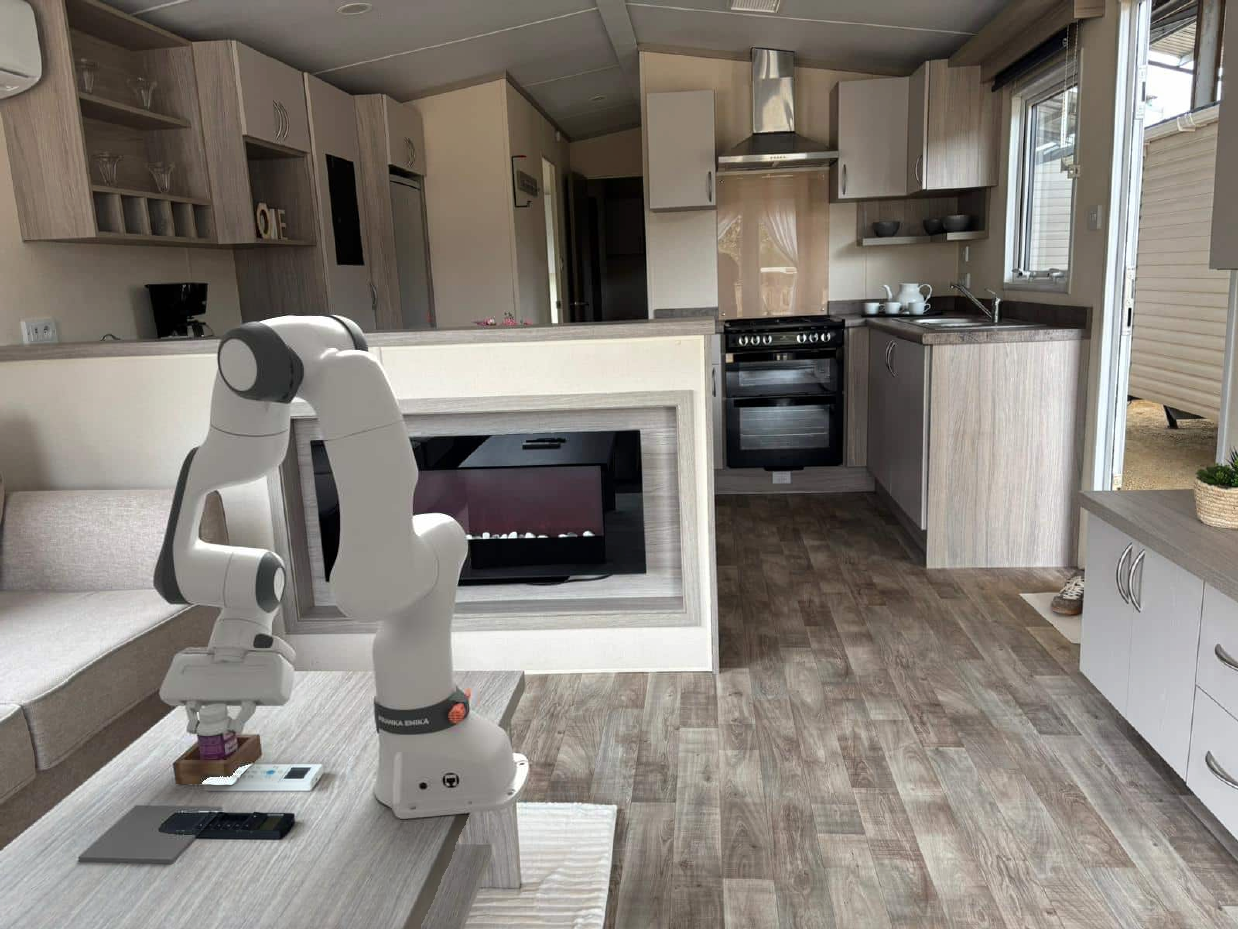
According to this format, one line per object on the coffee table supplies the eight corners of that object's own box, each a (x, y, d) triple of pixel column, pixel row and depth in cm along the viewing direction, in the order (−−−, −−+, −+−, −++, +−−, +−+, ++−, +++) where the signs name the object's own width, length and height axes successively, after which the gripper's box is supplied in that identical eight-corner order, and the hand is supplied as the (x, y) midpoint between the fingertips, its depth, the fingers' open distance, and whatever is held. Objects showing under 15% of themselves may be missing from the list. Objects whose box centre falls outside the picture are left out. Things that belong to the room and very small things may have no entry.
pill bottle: (236, 772, 138) (228, 713, 136) (199, 778, 136) (189, 719, 135) (242, 755, 143) (234, 698, 141) (206, 761, 142) (197, 703, 140)
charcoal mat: (222, 810, 128) (221, 806, 128) (172, 863, 117) (171, 859, 116) (136, 809, 130) (135, 805, 130) (78, 861, 118) (78, 857, 118)
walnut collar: (262, 754, 144) (259, 734, 143) (232, 785, 135) (229, 764, 134) (208, 754, 145) (205, 734, 144) (175, 784, 136) (172, 763, 135)
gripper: (167, 640, 144) (138, 726, 136) (289, 638, 142) (267, 726, 134) (187, 655, 149) (160, 739, 142) (305, 654, 147) (285, 739, 139)
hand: (213, 733), depth 138 cm, fingers closed on pill bottle, 5 cm apart
